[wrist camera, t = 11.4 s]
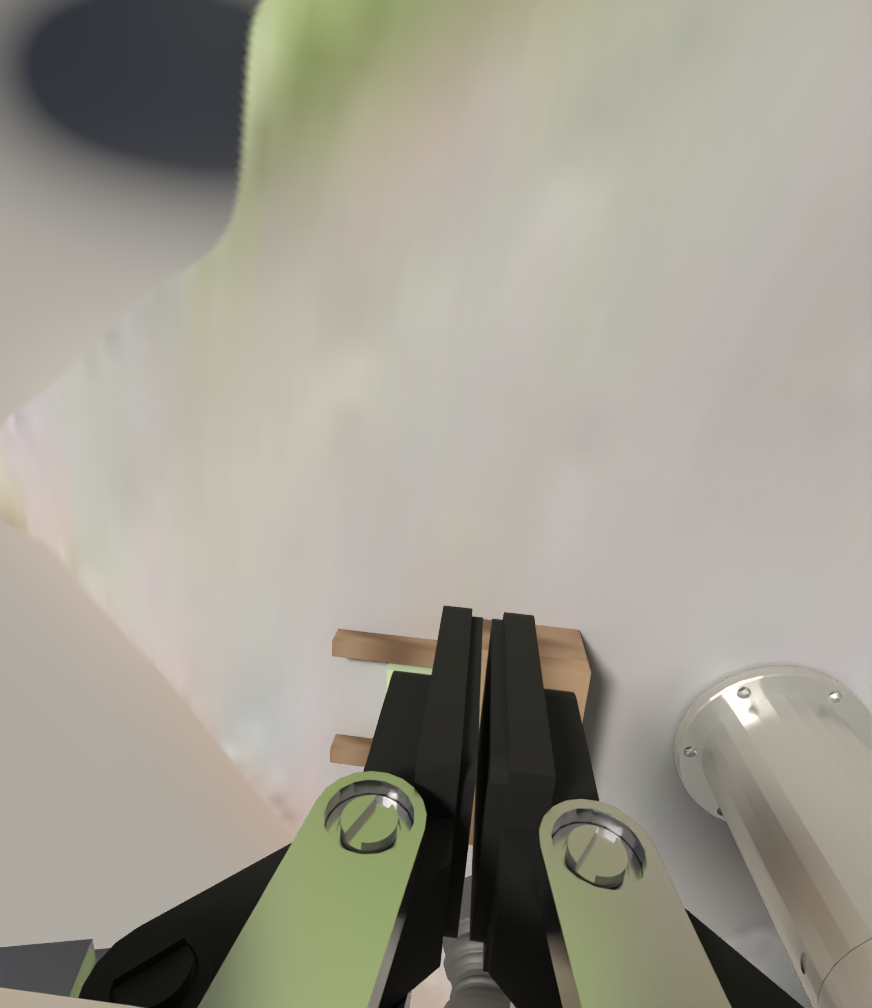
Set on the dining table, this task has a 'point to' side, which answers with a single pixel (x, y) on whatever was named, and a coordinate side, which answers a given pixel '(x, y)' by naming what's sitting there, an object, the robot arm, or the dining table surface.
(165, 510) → the dining table surface
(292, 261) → the dining table surface
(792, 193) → the dining table surface
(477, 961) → the candle holder
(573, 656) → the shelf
